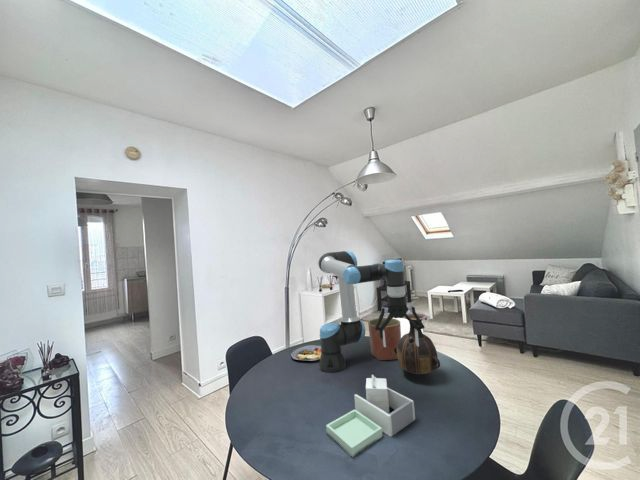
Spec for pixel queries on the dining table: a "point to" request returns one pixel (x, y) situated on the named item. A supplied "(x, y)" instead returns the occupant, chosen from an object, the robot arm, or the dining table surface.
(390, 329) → the planter
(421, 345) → the vase
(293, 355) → the food plate
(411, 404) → the dock
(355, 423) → the tray
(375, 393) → the ink box
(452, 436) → the dining table surface
